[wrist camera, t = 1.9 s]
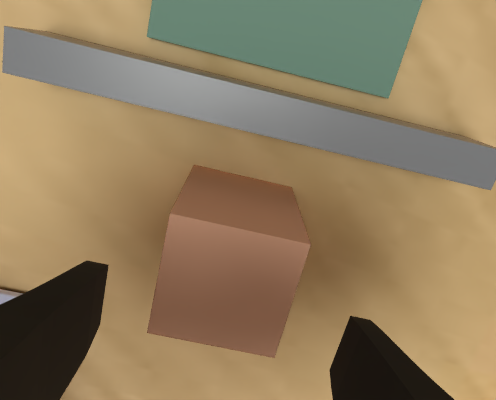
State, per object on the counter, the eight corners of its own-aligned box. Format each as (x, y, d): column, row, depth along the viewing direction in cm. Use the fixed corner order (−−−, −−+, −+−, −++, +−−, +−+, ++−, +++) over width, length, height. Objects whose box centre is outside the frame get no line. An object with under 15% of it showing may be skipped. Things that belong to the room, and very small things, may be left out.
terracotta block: (266, 272, 20) (274, 357, 14) (176, 252, 20) (146, 332, 14) (291, 187, 18) (310, 244, 13) (194, 164, 18) (169, 213, 12)
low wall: (452, 169, 18) (490, 190, 15) (43, 69, 17) (2, 72, 14) (466, 136, 18) (508, 152, 15) (46, 31, 16) (4, 26, 13)
